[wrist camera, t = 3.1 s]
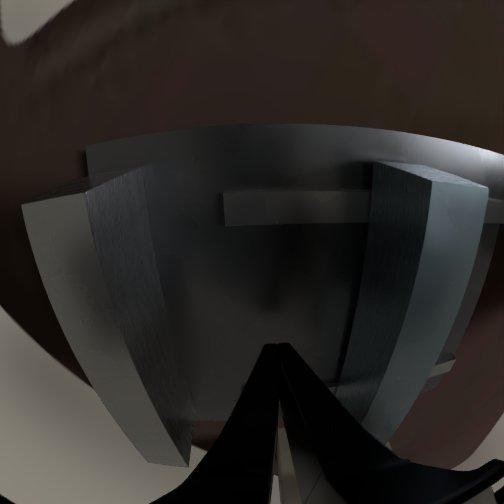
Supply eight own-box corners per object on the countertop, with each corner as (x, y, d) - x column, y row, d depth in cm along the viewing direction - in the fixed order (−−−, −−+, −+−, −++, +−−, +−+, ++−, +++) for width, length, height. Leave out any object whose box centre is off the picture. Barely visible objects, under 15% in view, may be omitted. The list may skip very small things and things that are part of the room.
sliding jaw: (365, 404, 13) (381, 450, 10) (330, 410, 13) (342, 459, 10) (424, 165, 8) (489, 187, 5) (373, 160, 8) (432, 181, 5)
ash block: (364, 438, 17) (386, 521, 10) (276, 451, 17) (283, 543, 10) (378, 413, 16) (410, 509, 8) (278, 428, 16) (288, 538, 8)
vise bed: (429, 378, 14) (456, 428, 10) (167, 404, 14) (154, 469, 10) (494, 152, 8) (566, 176, 4) (99, 143, 8) (14, 163, 4)
